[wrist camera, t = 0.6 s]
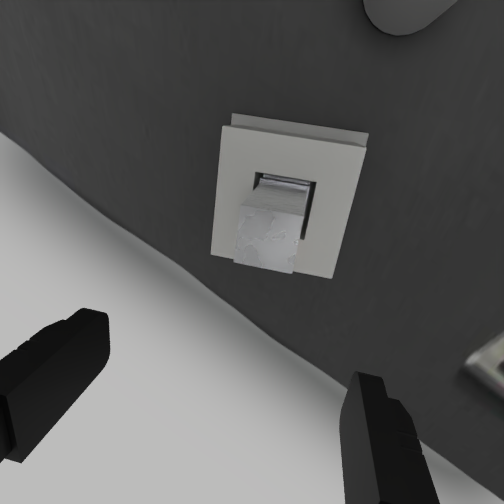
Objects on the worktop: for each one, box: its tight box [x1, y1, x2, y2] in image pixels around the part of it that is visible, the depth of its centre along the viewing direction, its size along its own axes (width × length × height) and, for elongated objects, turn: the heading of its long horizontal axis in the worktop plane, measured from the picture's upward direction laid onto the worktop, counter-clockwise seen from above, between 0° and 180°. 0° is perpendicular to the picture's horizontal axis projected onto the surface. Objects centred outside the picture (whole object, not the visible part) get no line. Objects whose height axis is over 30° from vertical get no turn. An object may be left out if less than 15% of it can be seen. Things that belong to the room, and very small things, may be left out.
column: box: [234, 173, 310, 274], centre depth 28 cm, size 4×4×16 cm
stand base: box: [211, 113, 369, 279], centre depth 32 cm, size 14×14×9 cm
